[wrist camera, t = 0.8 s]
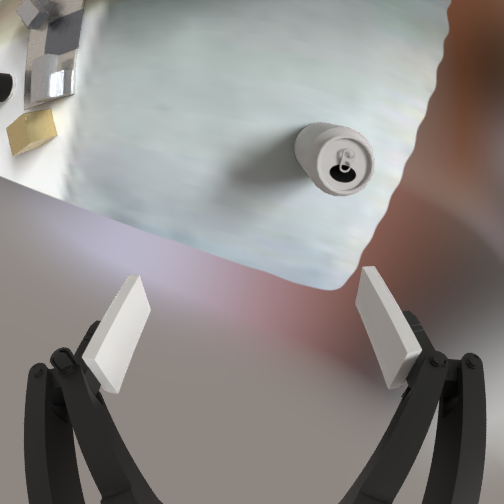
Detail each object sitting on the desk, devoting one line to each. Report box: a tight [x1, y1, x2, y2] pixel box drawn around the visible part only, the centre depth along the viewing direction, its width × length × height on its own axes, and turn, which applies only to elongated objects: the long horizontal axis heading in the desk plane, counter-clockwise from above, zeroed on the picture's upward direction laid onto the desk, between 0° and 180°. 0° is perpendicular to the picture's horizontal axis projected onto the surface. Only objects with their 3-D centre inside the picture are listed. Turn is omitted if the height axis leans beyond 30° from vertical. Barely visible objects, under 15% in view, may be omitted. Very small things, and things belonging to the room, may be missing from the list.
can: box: [294, 122, 375, 196], centre depth 30 cm, size 8×8×12 cm
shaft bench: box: [16, 0, 85, 110], centre depth 22 cm, size 23×14×6 cm, turn 177°
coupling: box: [6, 109, 57, 156], centre depth 29 cm, size 5×5×7 cm
